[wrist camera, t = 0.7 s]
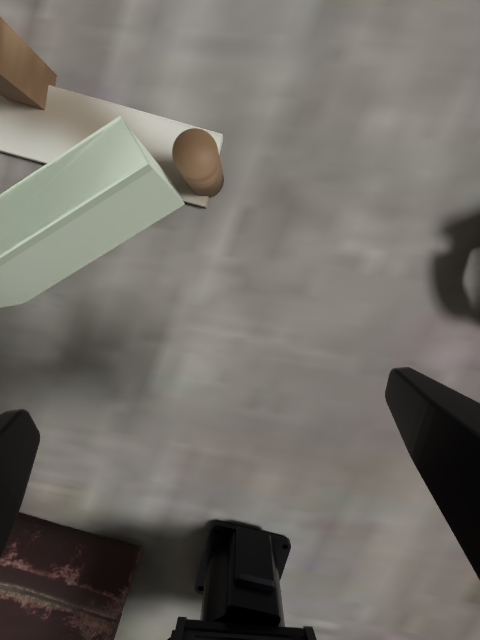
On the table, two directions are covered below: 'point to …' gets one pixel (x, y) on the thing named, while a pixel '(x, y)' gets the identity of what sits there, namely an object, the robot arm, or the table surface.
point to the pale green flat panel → (79, 210)
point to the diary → (62, 582)
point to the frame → (94, 124)
